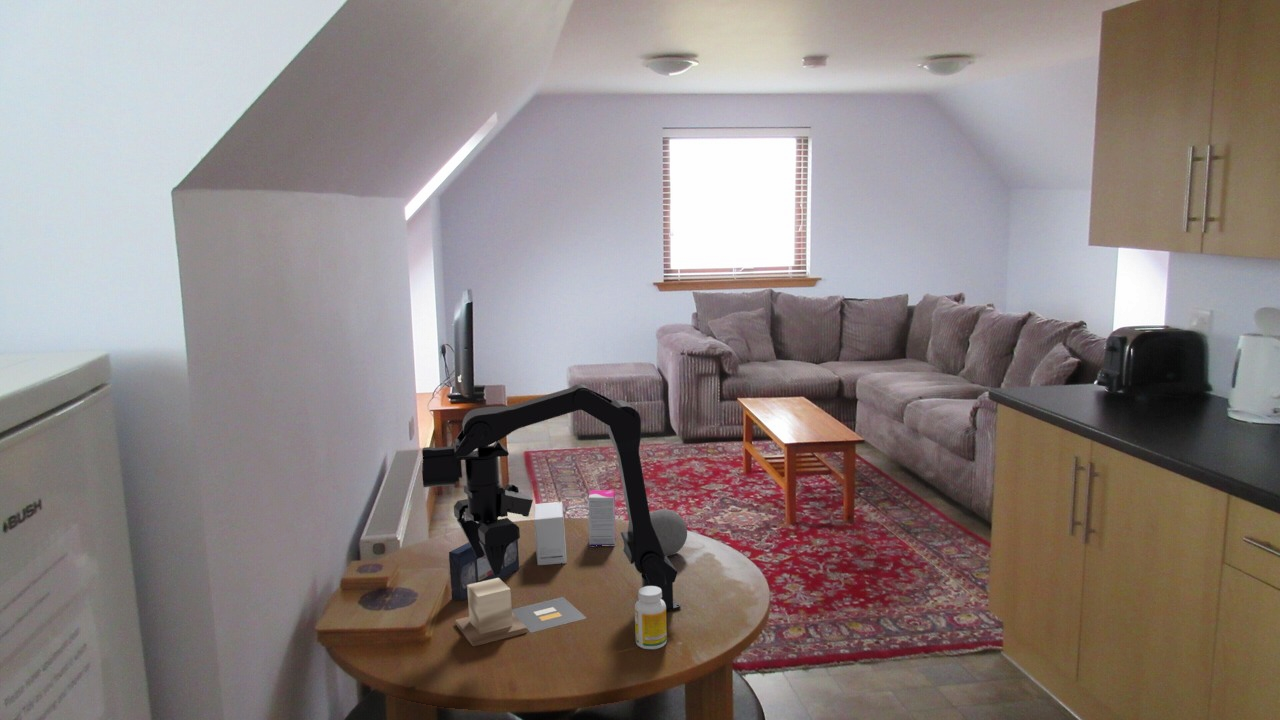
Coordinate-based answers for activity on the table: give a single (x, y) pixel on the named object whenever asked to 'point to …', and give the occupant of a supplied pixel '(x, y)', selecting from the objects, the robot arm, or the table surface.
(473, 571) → the vhs cassette tape
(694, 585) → the table surface
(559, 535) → the skincare box
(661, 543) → the decorative ball
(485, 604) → the maple block
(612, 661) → the table surface
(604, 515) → the supplement box
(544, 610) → the gray tile
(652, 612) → the supplement bottle
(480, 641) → the walnut pad
